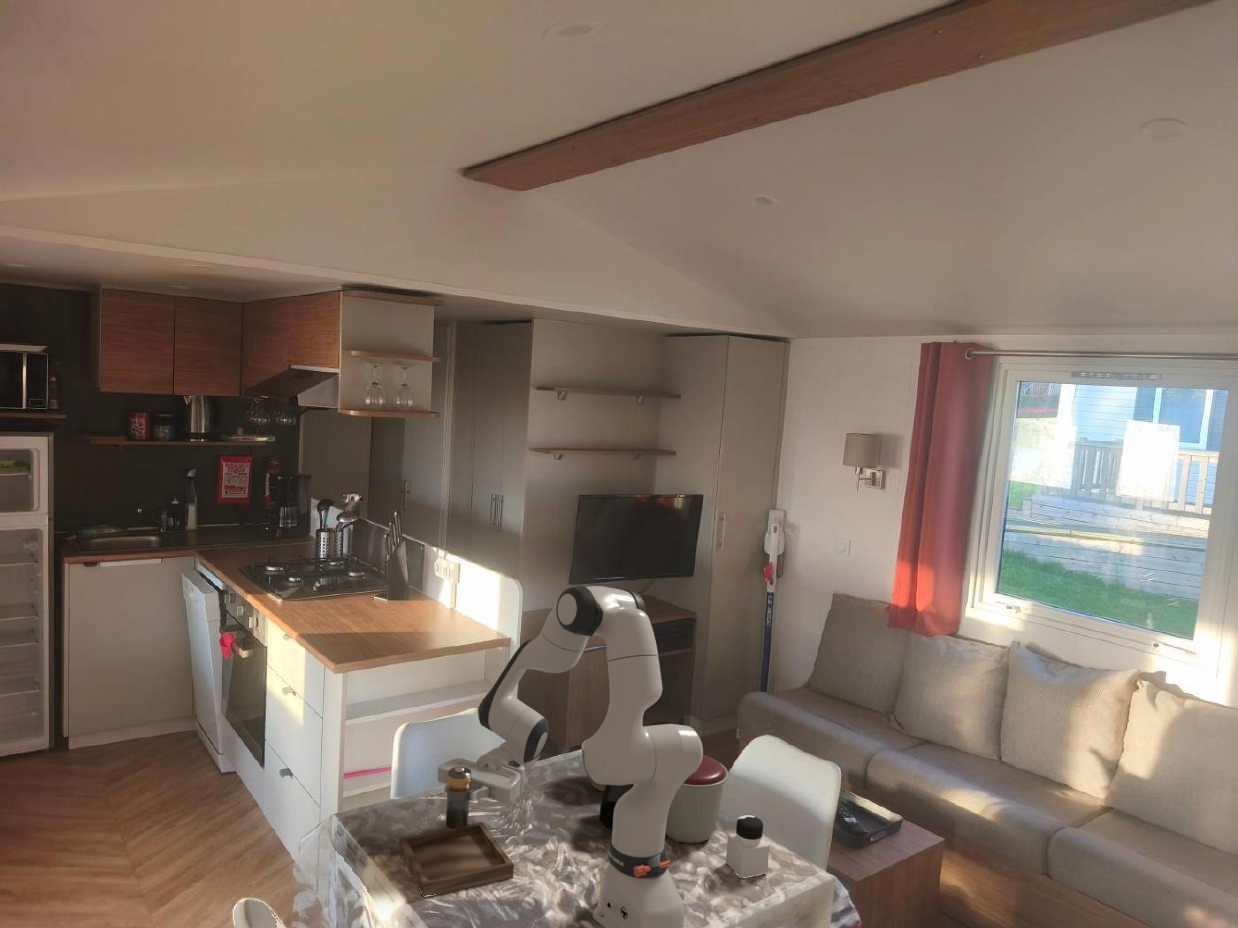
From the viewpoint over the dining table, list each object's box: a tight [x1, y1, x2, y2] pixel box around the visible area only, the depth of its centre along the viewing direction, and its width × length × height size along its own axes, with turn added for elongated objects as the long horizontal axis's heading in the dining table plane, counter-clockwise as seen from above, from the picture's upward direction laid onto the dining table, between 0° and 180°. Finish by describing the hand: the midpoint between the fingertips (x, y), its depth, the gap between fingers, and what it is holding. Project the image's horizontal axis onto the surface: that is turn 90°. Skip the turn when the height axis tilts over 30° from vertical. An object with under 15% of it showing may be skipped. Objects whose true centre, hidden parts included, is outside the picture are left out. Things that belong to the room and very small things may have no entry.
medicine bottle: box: [725, 814, 770, 878], centre depth 198 cm, size 7×7×12 cm
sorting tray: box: [398, 821, 515, 896], centre depth 192 cm, size 20×20×3 cm
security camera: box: [599, 784, 635, 831], centre depth 215 cm, size 7×18×10 cm, turn 174°
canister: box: [665, 754, 729, 844], centre depth 212 cm, size 18×18×21 cm
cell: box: [444, 766, 471, 829], centre depth 191 cm, size 5×5×13 cm
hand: (458, 793), depth 191 cm, fingers closed on cell, 5 cm apart
